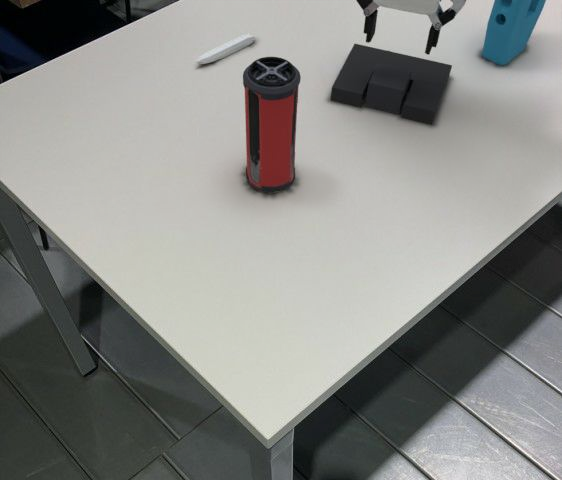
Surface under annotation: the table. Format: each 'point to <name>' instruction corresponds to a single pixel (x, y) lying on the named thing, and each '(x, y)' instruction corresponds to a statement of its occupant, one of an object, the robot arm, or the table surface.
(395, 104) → the plug pad
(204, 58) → the pen
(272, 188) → the speaker
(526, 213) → the table surface
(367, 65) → the base pad
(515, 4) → the block
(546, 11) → the table surface
